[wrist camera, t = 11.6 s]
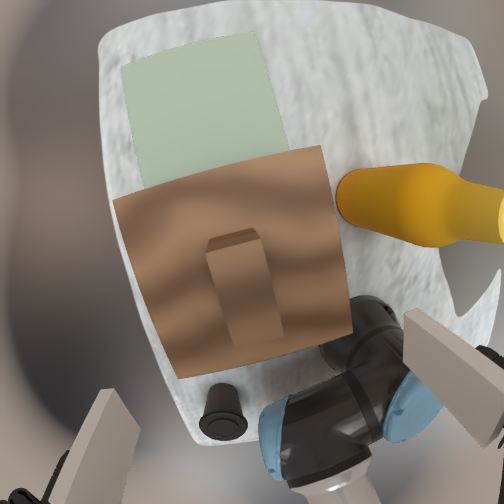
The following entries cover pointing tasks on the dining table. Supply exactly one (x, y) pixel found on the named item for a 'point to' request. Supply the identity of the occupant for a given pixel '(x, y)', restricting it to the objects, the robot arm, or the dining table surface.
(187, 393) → the dining table surface
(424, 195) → the yellow bottle
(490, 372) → the robot arm
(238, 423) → the coffee cup
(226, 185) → the walnut cover
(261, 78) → the green mat
